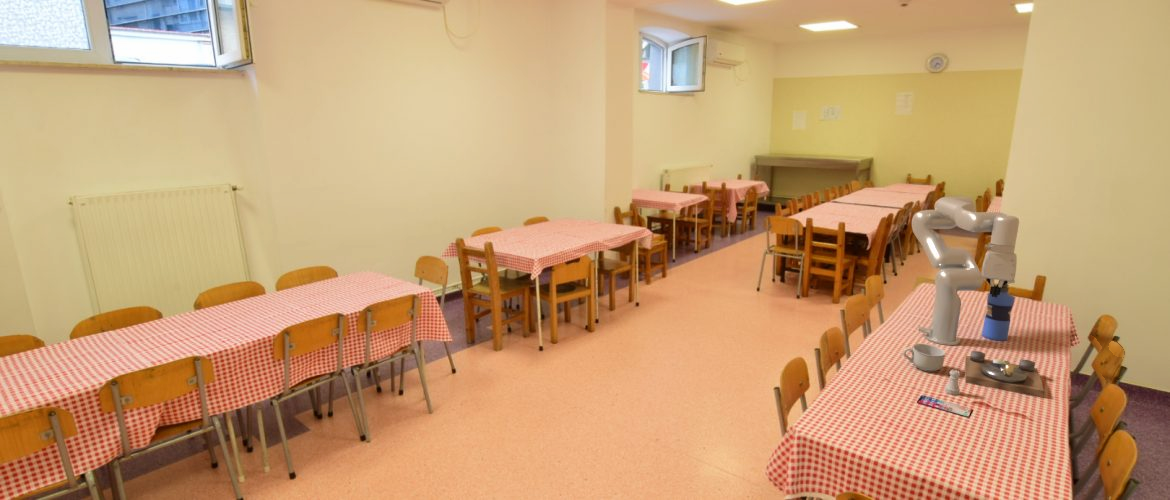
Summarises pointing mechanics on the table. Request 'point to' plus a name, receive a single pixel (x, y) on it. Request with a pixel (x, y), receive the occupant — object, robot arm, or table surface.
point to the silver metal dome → (1004, 373)
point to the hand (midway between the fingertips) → (994, 296)
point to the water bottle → (998, 315)
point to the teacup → (926, 357)
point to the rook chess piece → (953, 383)
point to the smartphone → (945, 406)
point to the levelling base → (976, 377)
